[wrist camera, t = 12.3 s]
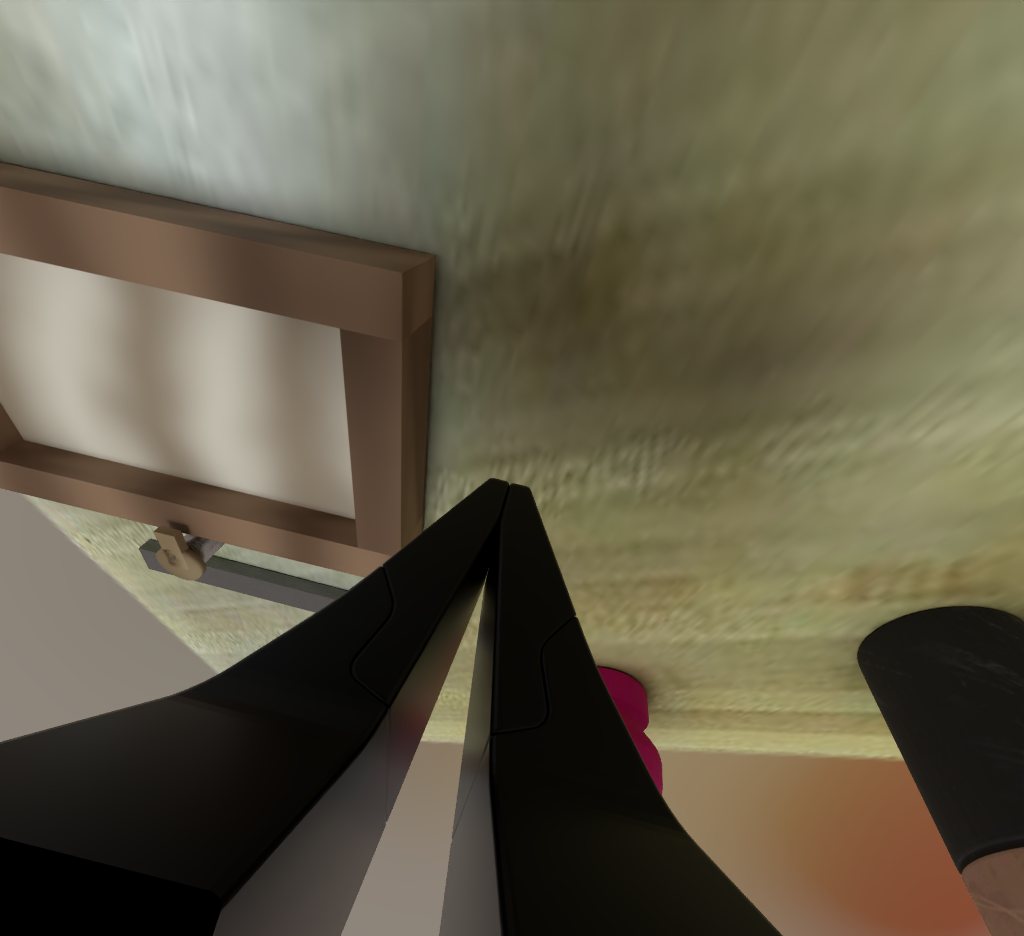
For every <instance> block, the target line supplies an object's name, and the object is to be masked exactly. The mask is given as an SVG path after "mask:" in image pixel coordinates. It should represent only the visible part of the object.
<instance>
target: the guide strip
mask: <svg viewBox="0 0 1024 936" xmlns="http://www.w3.org/2000/svg"><path fill="white" fill-rule="evenodd" d="M160 549H161V546H160V544H159V542H158V541H154V540H150V539H149V540H148V541H147V542H146V543H144V544H143V545H142V546H141V547H140V548H139V550H140V552H141V554H142V556H143V558H144V560H145V562H146V564H147V566H148V568H149V569H152V570H156V571H160V572H163V573H167V574H171V573H170V572H168V571H167V570H166V569H164V568H163V567H162V566H161V565H160V563H159V562H158V560H157V558H156V553H157V552H158V551H159V550H160ZM205 564H206V571H205V573H204V574H203V575H202V576H201V577H200V578H199V579H197V580H194V581H198V582H201V583H205V584H209V585H213V586H217V587H221V588H224V589H228V590H232V591H236V592H240V593H243V594H247V595H251V596H255V597H259V598H262V599H266V600H270V601H274V602H278V603H281V604H285V605H289V606H293V607H297V608H301V609H304V610H308V611H312V612H318V611H319V610H321V609H322V608H324V607H325V606H327V605H328V604H330V603H331V602H333V601H334V600H336V599H337V598H339V597H340V596H342V595H343V594H344V593H346V592H347V591H346V590H342V589H338V588H334V587H330V586H327V585H323V584H319V583H315V582H311V581H307V580H304V579H300V578H296V577H292V576H288V575H284V574H280V573H277V572H273V571H269V570H265V569H261V568H257V567H254V566H250V565H246V564H242V563H238V562H234V561H231V560H227V559H223V558H219V557H215V556H212V557H211V558H210V559H209V560H208V561H207V562H206V563H205ZM171 575H173V574H171Z"/></svg>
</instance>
